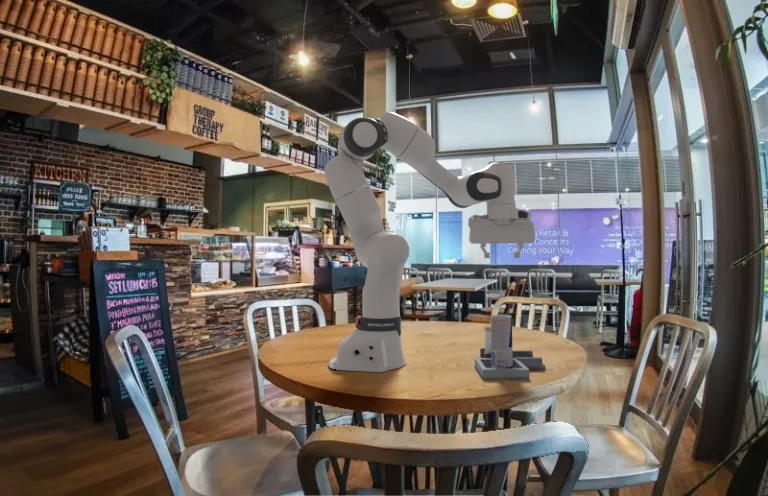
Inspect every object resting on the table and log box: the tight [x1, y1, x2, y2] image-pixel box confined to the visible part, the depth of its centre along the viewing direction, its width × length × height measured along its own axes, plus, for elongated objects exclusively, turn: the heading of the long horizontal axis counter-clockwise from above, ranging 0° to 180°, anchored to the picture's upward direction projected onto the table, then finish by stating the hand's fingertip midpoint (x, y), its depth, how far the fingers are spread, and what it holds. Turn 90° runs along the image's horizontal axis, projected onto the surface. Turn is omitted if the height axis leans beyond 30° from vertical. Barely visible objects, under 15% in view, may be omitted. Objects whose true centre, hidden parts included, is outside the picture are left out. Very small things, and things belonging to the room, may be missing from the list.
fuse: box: [483, 324, 491, 353], centre depth 133 cm, size 5×5×10 cm
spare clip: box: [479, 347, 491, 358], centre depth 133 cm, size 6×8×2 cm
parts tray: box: [474, 357, 531, 380], centre depth 117 cm, size 12×12×2 cm
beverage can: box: [490, 314, 513, 368], centre depth 118 cm, size 6×6×15 cm
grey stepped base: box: [512, 349, 546, 370], centre depth 126 cm, size 8×10×3 cm
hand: (501, 258), depth 136 cm, fingers open, 8 cm apart
